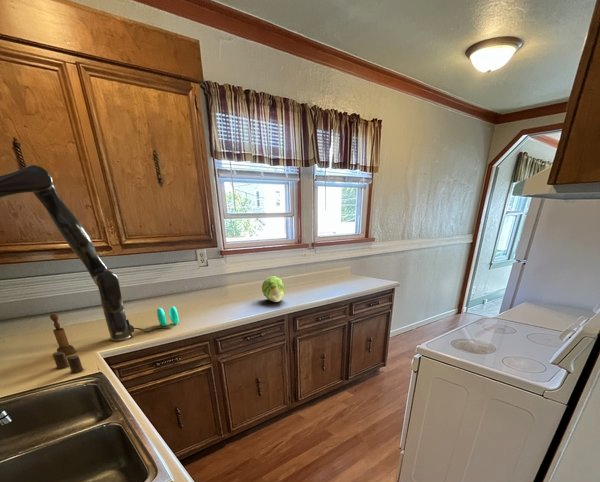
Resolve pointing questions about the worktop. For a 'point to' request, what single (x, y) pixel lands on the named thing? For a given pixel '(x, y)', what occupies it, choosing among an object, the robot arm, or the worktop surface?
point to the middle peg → (60, 360)
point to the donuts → (162, 316)
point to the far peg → (75, 364)
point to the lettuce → (273, 289)
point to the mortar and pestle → (61, 337)
